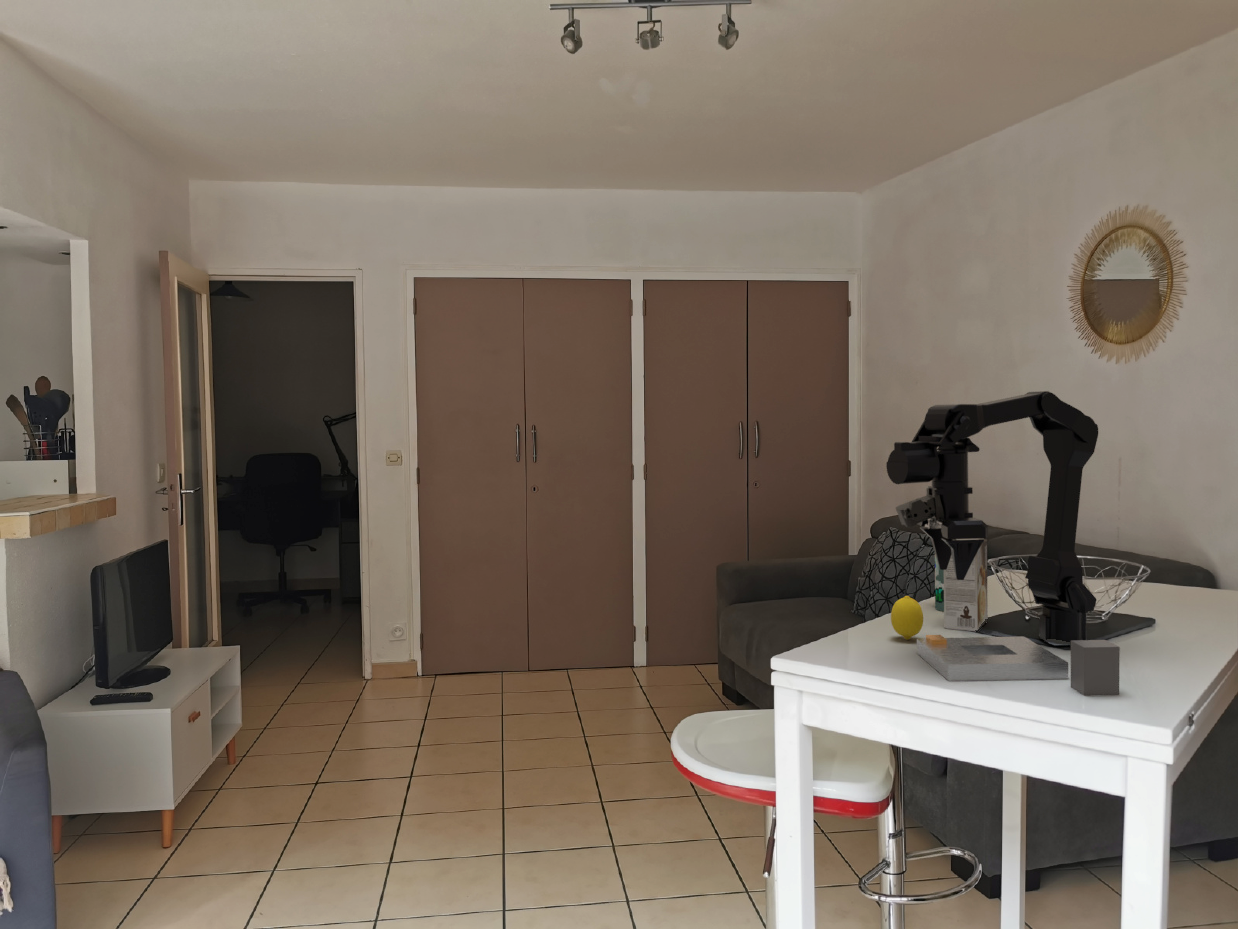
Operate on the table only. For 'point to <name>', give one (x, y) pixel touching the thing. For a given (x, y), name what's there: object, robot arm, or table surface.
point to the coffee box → (966, 594)
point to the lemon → (907, 617)
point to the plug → (1095, 667)
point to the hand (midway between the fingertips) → (951, 574)
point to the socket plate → (990, 658)
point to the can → (939, 587)
